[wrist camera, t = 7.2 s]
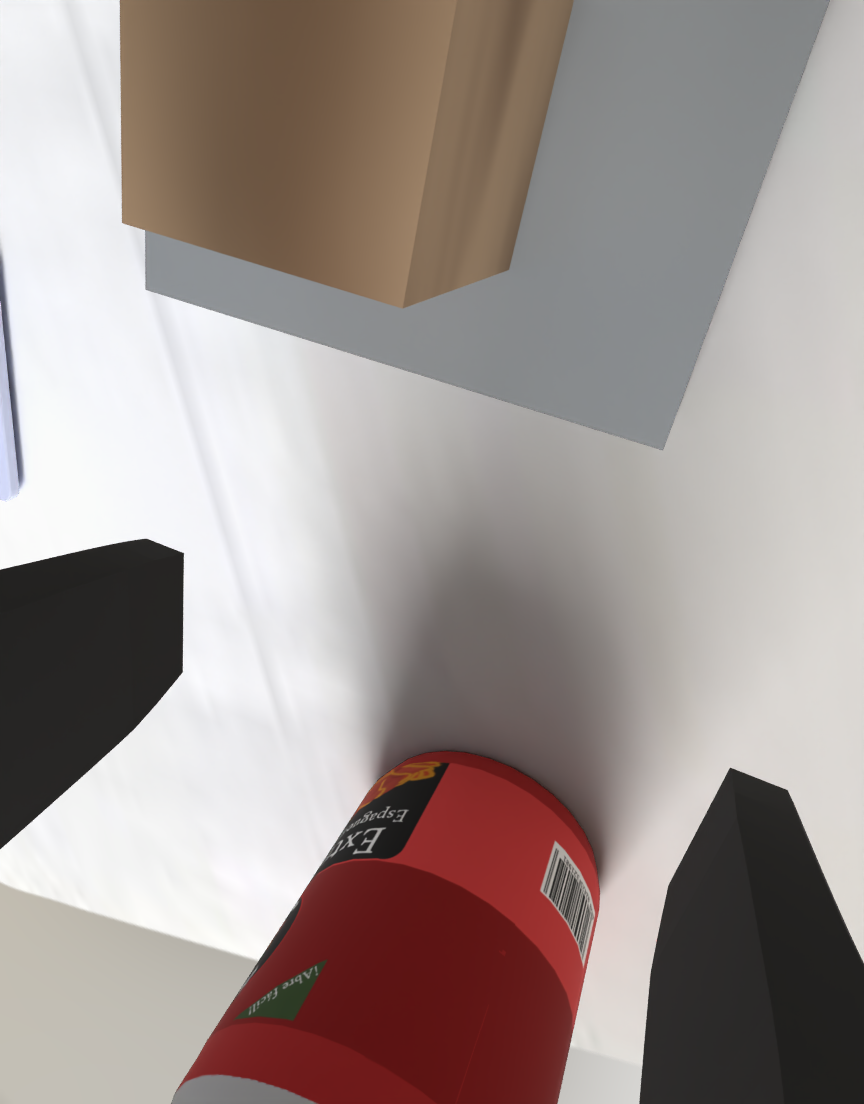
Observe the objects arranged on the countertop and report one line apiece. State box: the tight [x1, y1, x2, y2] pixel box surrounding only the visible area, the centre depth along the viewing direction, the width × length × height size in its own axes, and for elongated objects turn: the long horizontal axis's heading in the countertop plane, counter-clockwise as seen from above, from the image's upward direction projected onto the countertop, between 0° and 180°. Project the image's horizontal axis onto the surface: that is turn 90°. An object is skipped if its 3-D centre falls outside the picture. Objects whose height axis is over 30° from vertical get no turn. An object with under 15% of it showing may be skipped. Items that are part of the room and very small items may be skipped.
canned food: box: [171, 751, 600, 1104], centre depth 20 cm, size 8×8×11 cm
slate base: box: [145, 0, 830, 450], centre depth 14 cm, size 12×10×2 cm
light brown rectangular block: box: [120, 0, 574, 309], centre depth 11 cm, size 4×4×5 cm
